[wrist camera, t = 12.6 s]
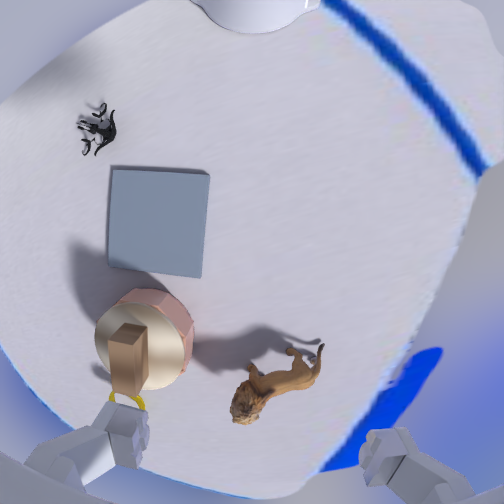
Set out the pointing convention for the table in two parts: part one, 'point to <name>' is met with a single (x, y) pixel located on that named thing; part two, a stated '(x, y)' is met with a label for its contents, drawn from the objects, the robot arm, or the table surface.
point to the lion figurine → (272, 386)
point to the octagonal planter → (166, 313)
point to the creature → (100, 131)
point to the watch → (137, 399)
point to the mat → (158, 222)
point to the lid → (139, 348)
